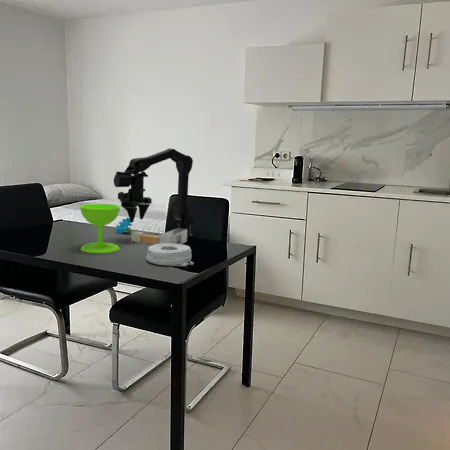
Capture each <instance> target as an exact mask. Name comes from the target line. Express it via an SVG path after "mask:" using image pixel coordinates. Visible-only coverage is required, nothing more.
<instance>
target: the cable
mask: <svg viewBox="0 0 450 450" xmlns="http://www.w3.org/2000/svg"><path fill="white" fill-rule="evenodd" d="M192 256H193V255H192V249H191V247H190V246H189V245H187V244H186V245H185V244H170V243H164V244H152V245H149V246H148V247H147V254H146V257H145V259H146V261H148V262H149V263H151V264H154V265H159V266H170V267H187V266H189V265H191V266H193V265H194V264H195V262H193V261H191V260H192Z"/></svg>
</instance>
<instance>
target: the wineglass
mask: <svg viewBox="0 0 450 450" xmlns="http://www.w3.org/2000/svg"><path fill="white" fill-rule="evenodd" d="M120 208H121V205H116V204H110V203H109V204H107V203H89V204H82V205H80V206H79V209H80V213H81V215H82V217H83V218H84V220H86V222H88V223H89V224H91V225H94V226H97V241H96V242H90V243H85V244H84V245H82V246H81V248H80V251H82V252H83V253H84V252H85V253H90V254H108V253H114V252H117V251H119V250H121V249H120V247H119V245H117V244H116V243H112V242H105V241H104V240H103V239H104V238H103V237H104V234H103V230H104V228H103V226H106V225H110V224H111V223H112V222H114V221H115V220H116V218H117V217H118V215H119V213H120V210H121V209H120Z"/></svg>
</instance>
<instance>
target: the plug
mask: <svg viewBox="0 0 450 450" xmlns="http://www.w3.org/2000/svg"><path fill="white" fill-rule="evenodd" d="M132 232H133V231H132ZM132 241H135V243H142V242H146V243H145V244H151V243H154V244H153V245H155V244H159V235H154V234H153V235H152V234H144V231H134V232H133V233H131V242H132Z"/></svg>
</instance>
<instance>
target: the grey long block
mask: <svg viewBox="0 0 450 450" xmlns="http://www.w3.org/2000/svg"><path fill="white" fill-rule="evenodd" d="M158 236H159V244H164V243H170V244H181V245H184V243H187V241H188V237H187V229H182V228H179V227H177V228H174V229H172V230H170V231H167V232H164V233H162V234H160V235H158Z"/></svg>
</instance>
